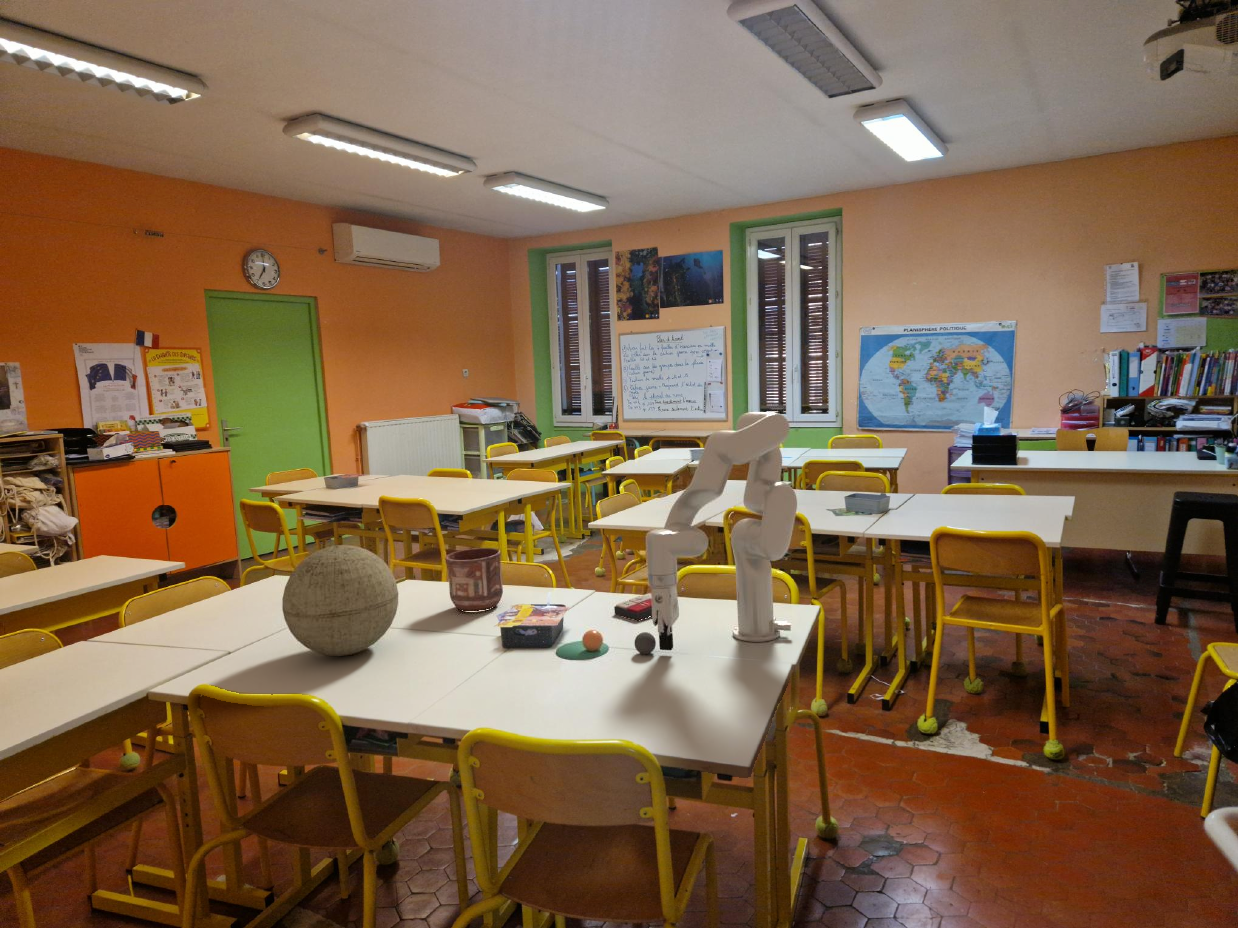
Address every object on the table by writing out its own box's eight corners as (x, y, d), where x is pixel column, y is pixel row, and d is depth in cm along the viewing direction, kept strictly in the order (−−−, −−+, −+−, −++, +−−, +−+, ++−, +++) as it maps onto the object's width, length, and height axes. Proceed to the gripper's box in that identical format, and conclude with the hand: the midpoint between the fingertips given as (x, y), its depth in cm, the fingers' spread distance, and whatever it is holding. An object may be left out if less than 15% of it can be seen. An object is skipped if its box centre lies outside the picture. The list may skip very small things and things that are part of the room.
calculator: (613, 604, 229) (649, 590, 239) (614, 617, 230) (650, 603, 239) (637, 610, 221) (673, 596, 230) (638, 624, 221) (674, 610, 231)
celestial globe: (269, 657, 208) (257, 551, 205) (369, 628, 230) (360, 531, 227) (319, 682, 188) (307, 564, 185) (423, 647, 210) (414, 541, 206)
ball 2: (640, 626, 197) (635, 645, 198) (634, 633, 192) (629, 653, 193) (660, 632, 196) (655, 652, 196) (654, 639, 190) (650, 659, 191)
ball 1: (584, 627, 202) (587, 647, 202) (577, 634, 196) (580, 654, 197) (604, 626, 200) (607, 646, 200) (597, 633, 195) (600, 653, 195)
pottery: (453, 602, 254) (448, 550, 252) (505, 597, 255) (501, 545, 253) (447, 618, 236) (442, 562, 234) (503, 613, 238) (499, 557, 236)
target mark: (615, 642, 204) (615, 641, 204) (598, 661, 191) (598, 660, 191) (567, 640, 208) (567, 639, 208) (547, 658, 195) (547, 657, 195)
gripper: (670, 587, 182) (674, 660, 184) (683, 571, 197) (687, 639, 198) (640, 586, 185) (644, 658, 187) (655, 571, 199) (659, 638, 201)
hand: (666, 648), depth 193 cm, fingers closed
